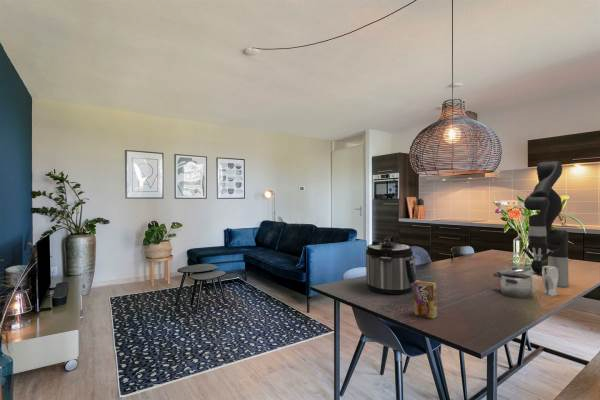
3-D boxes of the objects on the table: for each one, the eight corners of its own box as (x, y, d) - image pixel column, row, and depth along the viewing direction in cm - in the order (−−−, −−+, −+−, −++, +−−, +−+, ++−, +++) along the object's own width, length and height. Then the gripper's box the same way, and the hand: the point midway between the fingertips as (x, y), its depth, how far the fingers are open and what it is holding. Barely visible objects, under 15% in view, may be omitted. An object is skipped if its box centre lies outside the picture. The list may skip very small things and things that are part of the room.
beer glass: (552, 297, 162) (551, 268, 162) (539, 293, 169) (538, 266, 169) (562, 295, 164) (561, 267, 164) (548, 292, 171) (548, 265, 171)
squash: (530, 267, 206) (547, 251, 203) (523, 264, 220) (540, 249, 217) (550, 283, 202) (568, 267, 198) (542, 278, 216) (559, 263, 212)
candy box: (437, 316, 139) (436, 282, 139) (434, 319, 136) (433, 284, 136) (418, 311, 145) (417, 279, 145) (414, 314, 142) (413, 281, 142)
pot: (500, 286, 183) (499, 269, 183) (535, 292, 170) (535, 274, 170) (489, 293, 170) (489, 275, 170) (527, 300, 157) (527, 280, 157)
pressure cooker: (392, 300, 163) (391, 240, 163) (355, 287, 186) (354, 235, 186) (426, 290, 179) (425, 235, 179) (388, 280, 203) (387, 232, 203)
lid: (502, 270, 180) (501, 267, 180) (534, 267, 169) (533, 264, 169) (494, 275, 170) (493, 272, 170) (527, 272, 158) (526, 268, 159)
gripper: (554, 235, 159) (555, 268, 159) (524, 233, 169) (524, 264, 169) (552, 236, 154) (552, 270, 154) (520, 234, 164) (521, 266, 164)
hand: (538, 267), depth 161 cm, fingers closed
